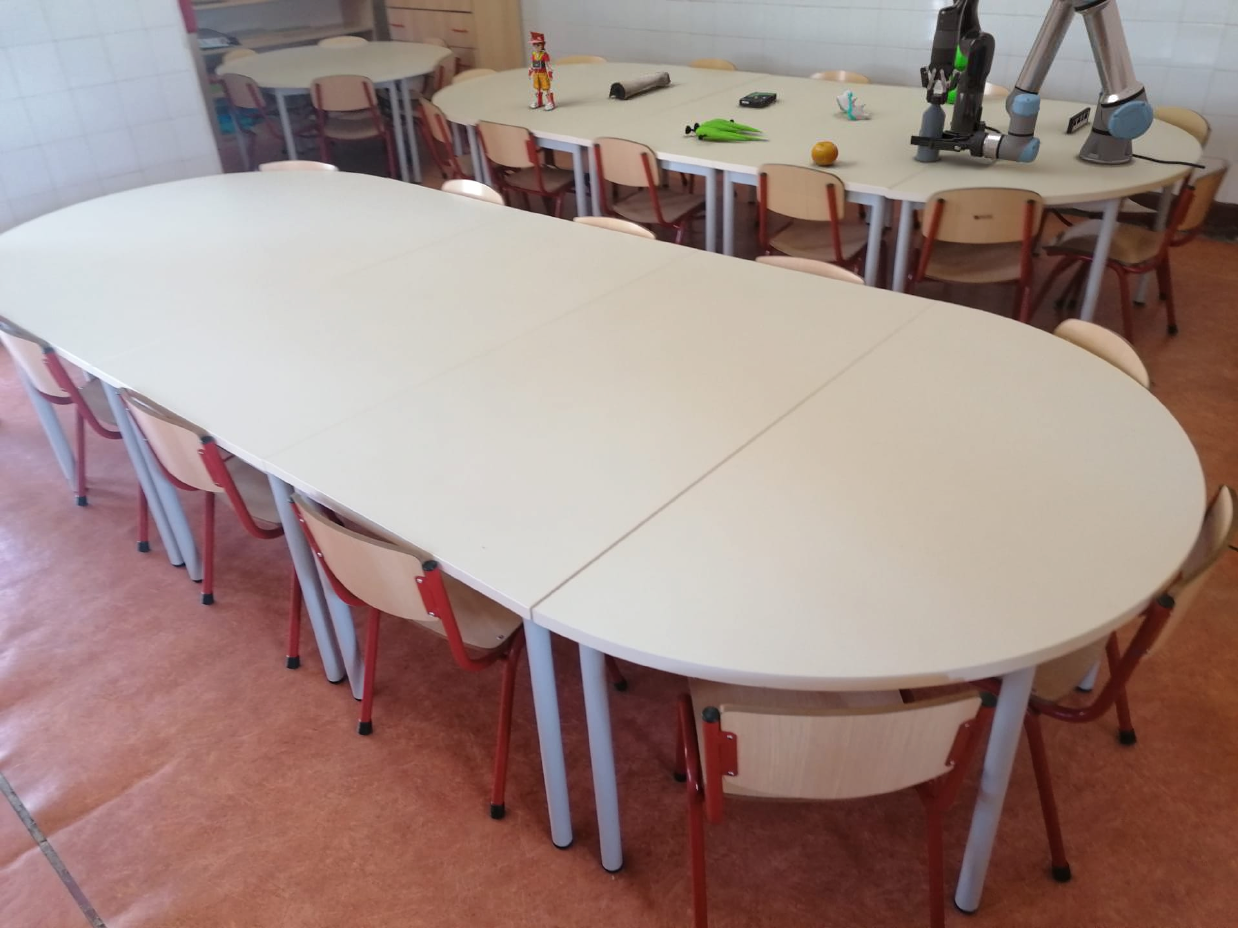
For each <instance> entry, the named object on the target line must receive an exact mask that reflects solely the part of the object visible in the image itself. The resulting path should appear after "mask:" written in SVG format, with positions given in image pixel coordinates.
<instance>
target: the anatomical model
mask: <svg viewBox="0 0 1238 928" xmlns="http://www.w3.org/2000/svg"><path fill="white" fill-rule="evenodd" d="M853 96H854V94H853V91H850V90H849V89H845V90H844V92H843V93H842V94H839V95H837V96H836V103H837V105H838V107H839V109H840V111H842V112H845V113H846V115H847V117H848V118H849V119H850V120H853V121H854V120H857V119H861V118H865V119H866V118H869V117H870V114H869V113H865V112H863V110H864V108H865V107H866V103H861V104H859V105H855V102H856V101H857V100H858V97H854V98H853Z"/></svg>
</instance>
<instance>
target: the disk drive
mask: <svg viewBox="0 0 1238 928" xmlns="http://www.w3.org/2000/svg"><path fill="white" fill-rule="evenodd" d="M777 97H778V96H777V93H775V92H759V91H755V92H751V93H749V94H747V95H745V96H744V97H742V98H740V99H739V100H738V106H740V107H746V108H758V109H759V108H764V107H766V106H767V105H769V104H771V103H773V102H775V101H776V100H777Z"/></svg>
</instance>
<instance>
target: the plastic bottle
mask: <svg viewBox="0 0 1238 928" xmlns="http://www.w3.org/2000/svg"><path fill="white" fill-rule="evenodd" d="M967 60H968V59H966V58H965V57H963V56H962V55H961V53H960V50H959V44H958V49H957V55H956V61H955V69H956V70H958V71H962V72H963V71H964V70H965V69H966V65H967ZM952 80H953V73H952V75H951V76H950V84H951V82H952ZM956 90H957V87H956V89H955V90H952V91H949V94H948V100H947V102H946V103H948V104H954V103H955V96H956Z"/></svg>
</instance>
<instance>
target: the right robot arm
mask: <svg viewBox="0 0 1238 928" xmlns="http://www.w3.org/2000/svg"><path fill="white" fill-rule="evenodd" d="M1076 13H1077V14H1079V15H1081V16H1082V19H1083V22H1084V27H1085V30H1086V34H1087V37H1088V41H1089V43H1090V48H1091V52H1092V56H1093V59H1094V63H1095V67H1096V70H1097V74H1098V78H1099V81H1100V85H1101V88H1100V91H1099V94H1098V99H1097V105H1096V107H1095V113H1094V116H1093V121H1092V125H1091V130H1090V133H1089V134H1088V136H1087V138H1086V140H1085V141H1084V143H1083V145H1082V146H1081V148H1080V150H1079V152H1078V159H1079V160H1080V161H1082V162H1084V163H1086V164H1087V163H1088V164H1092V165H1098V166H1113V167H1114V166H1122V165H1127V164H1130V163H1131V162H1132V159H1133V158H1136V159H1141V160H1145V161H1148V162H1153V163H1156V164H1161V165H1181V166H1187V167H1192V168H1197V169H1202V170H1205V169H1206V165H1202V164H1197V163H1193V162H1189V161H1179V160H1163V159H1156V158H1154V157H1149V156H1145V155H1140V154H1136V153H1134V151H1133V140H1135V139H1138V138H1140V137H1141V136H1143V135H1144V134H1146V133H1147V131H1148V130H1149V129H1150V128H1151V126H1152V124H1153V122H1154V115H1155V114H1154V109H1153V107H1152V105H1151V104H1150V103H1149V100H1148V97H1147V92H1146V88H1145V84H1144V83H1143V82H1141V81H1139V80H1137V78H1136V74H1135V69H1134V67H1133V66H1134V65H1133V62H1132V59H1131V55H1130V51H1129V50H1130V49H1129V47H1128V43H1127V39H1126V35H1125V32H1124V27H1123V23H1122V20H1121V16H1120V11H1119V8H1118V3H1117V0H1052V2H1051V3H1050V6H1049V8H1048V10H1047V12H1046V15H1045V17H1044V19H1043V21H1042V24H1041V26H1040V28H1039V30H1038V33H1037V34H1036V37H1035V40H1034V42H1033V44H1032V46H1031V48H1030V51H1029V53H1028V55H1027V57H1026V60H1025V62H1024V64H1023V66H1022V69H1021V71H1020V73H1019V75H1018V77H1017V80H1016V82H1015V85H1014V87H1013V89H1012V91H1011V92H1010V93H1009V94H1008V95H1007V97H1006V99H1005V111H1006V113H1007V114H1008V116H1009V125H1008V129H1007V134H1005V133H1002V134H998V133H996V132H990V133H989V132H986V131H985V132H976V133H975V134H973V133H972V134H969V133H961V132H955V131H950V130H948V129H945V130H943V135H942V139H933V137H931V138H930V137H921V136H920V132H919V134H918V135H913V134H912V135H911V136H910V142H909V145H910V146H911V145H913V146H918V145H919V146H927V147H929V149H933V150H940V151H944V152H945V151H947V152H955V153H961V151H962V152H963V151H964V152H965V151H966V150H967V151H968V150H969V154H970V157H976V158H984V159H985V158H986V159H991V161H995V160H1002V161H1007V162H1013V163H1014V162H1016V163H1027V164H1029V163H1033V162H1034V161H1035V160H1036V159H1037V157H1038V154H1039V151H1040V147H1041V139H1040V138H1038V137H1036V136H1035V130H1036V125H1037V121H1038V116H1039V111H1040V109H1041V106H1040V105H1041V97H1040V96H1039V94H1040V90H1041V89H1042V86H1043V85H1044V82H1045V80H1046V77H1047V76H1048V74H1049V71H1050V69H1051V67H1052V65H1053V63H1054V60H1055V58H1056V57H1057V54H1058V51H1059V50H1060V48H1061V45H1062V43H1063V41H1064V39H1065V37H1066V35H1067V33H1068V30H1069V28H1070V26H1071V24H1072V22H1073V20H1074V18H1075V16H1076Z"/></svg>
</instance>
